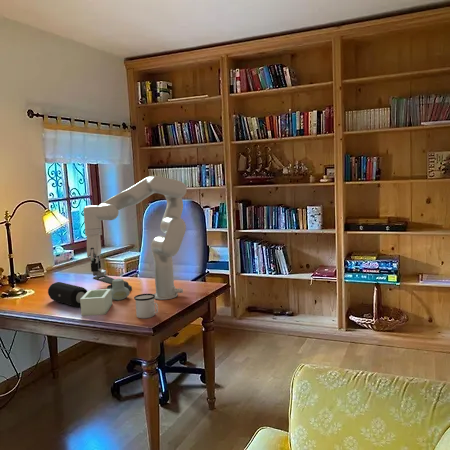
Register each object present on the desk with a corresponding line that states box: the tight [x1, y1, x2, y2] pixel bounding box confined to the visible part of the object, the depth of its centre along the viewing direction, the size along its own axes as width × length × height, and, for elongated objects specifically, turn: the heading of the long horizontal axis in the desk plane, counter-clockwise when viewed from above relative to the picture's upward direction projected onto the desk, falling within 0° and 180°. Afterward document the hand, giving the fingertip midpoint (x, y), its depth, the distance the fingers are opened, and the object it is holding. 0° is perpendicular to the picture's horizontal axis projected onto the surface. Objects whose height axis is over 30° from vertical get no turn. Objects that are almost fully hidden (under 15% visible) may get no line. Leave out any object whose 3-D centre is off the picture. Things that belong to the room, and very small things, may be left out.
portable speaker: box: [47, 281, 88, 308], centre depth 241 cm, size 26×10×10 cm, turn 49°
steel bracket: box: [92, 257, 107, 277], centre depth 224 cm, size 5×5×8 cm
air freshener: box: [111, 278, 131, 301], centre depth 245 cm, size 11×8×10 cm
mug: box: [133, 293, 159, 319], centre depth 214 cm, size 12×10×9 cm
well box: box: [80, 288, 113, 317], centre depth 227 cm, size 11×16×8 cm
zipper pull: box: [92, 274, 133, 292], centre depth 266 cm, size 9×7×25 cm
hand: (96, 269), depth 224 cm, fingers closed on steel bracket, 5 cm apart
